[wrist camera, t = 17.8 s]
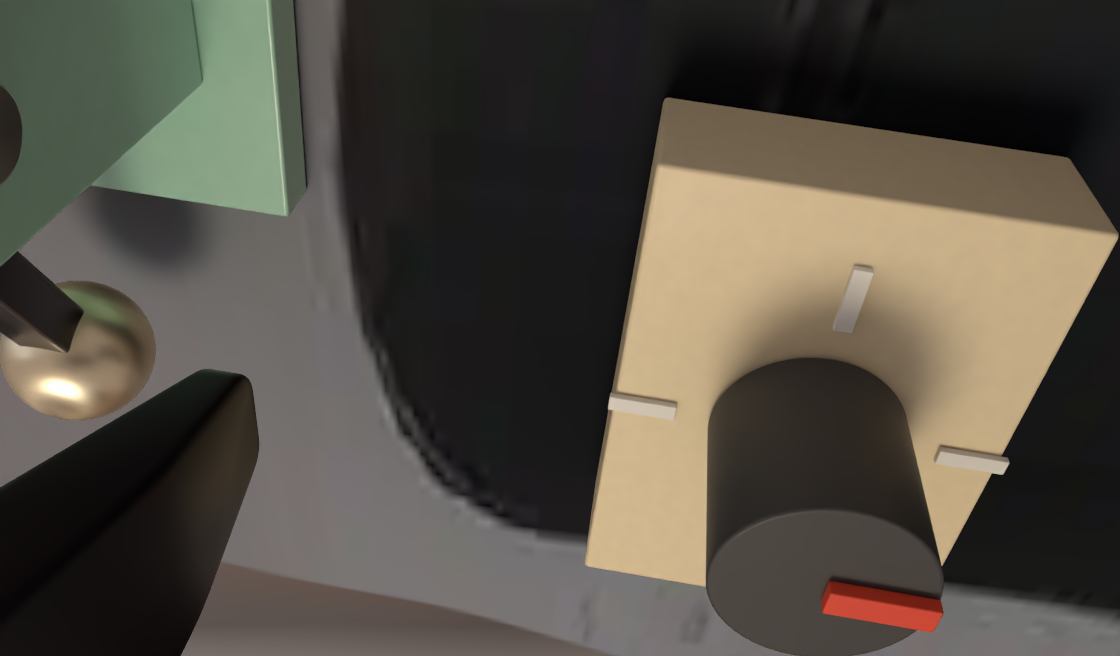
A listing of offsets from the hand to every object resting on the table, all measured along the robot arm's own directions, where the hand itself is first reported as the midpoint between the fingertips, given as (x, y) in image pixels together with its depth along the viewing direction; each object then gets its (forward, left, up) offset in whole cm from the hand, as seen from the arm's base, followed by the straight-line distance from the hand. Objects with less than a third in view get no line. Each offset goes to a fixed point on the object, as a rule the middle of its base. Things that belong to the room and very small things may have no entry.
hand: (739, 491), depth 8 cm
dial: (-3, +7, -9) cm, 12 cm away
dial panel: (-3, +7, -12) cm, 14 cm away
